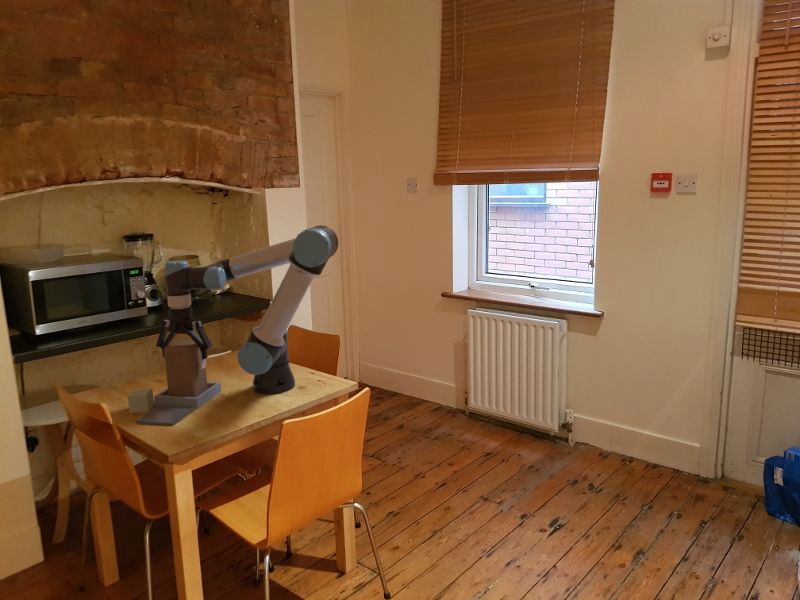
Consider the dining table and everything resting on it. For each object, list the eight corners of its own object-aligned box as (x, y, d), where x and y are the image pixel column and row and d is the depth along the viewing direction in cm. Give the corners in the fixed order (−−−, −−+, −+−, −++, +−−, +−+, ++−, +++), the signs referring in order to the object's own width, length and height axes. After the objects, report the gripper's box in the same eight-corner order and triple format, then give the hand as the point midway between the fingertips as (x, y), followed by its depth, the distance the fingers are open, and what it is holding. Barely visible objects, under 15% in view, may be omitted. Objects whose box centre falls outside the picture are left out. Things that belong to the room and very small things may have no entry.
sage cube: (154, 405, 210) (152, 388, 209) (148, 412, 204) (146, 395, 203) (136, 406, 210) (134, 389, 208) (129, 412, 204) (127, 395, 203)
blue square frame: (221, 391, 221) (220, 382, 221) (198, 408, 206) (197, 398, 205) (180, 389, 224) (179, 380, 224) (155, 405, 209) (154, 396, 208)
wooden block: (194, 404, 209) (189, 348, 205) (168, 403, 211) (162, 347, 207) (209, 394, 219) (204, 340, 215) (183, 393, 221) (178, 339, 217)
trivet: (194, 410, 205) (194, 407, 204) (172, 425, 192) (172, 423, 192) (159, 408, 207) (159, 405, 207) (135, 423, 195) (135, 420, 195)
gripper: (218, 305, 210) (223, 365, 214) (154, 303, 214) (160, 362, 219) (207, 309, 202) (213, 372, 207) (141, 308, 207) (147, 368, 212)
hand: (186, 367), depth 213 cm, fingers open, 12 cm apart
